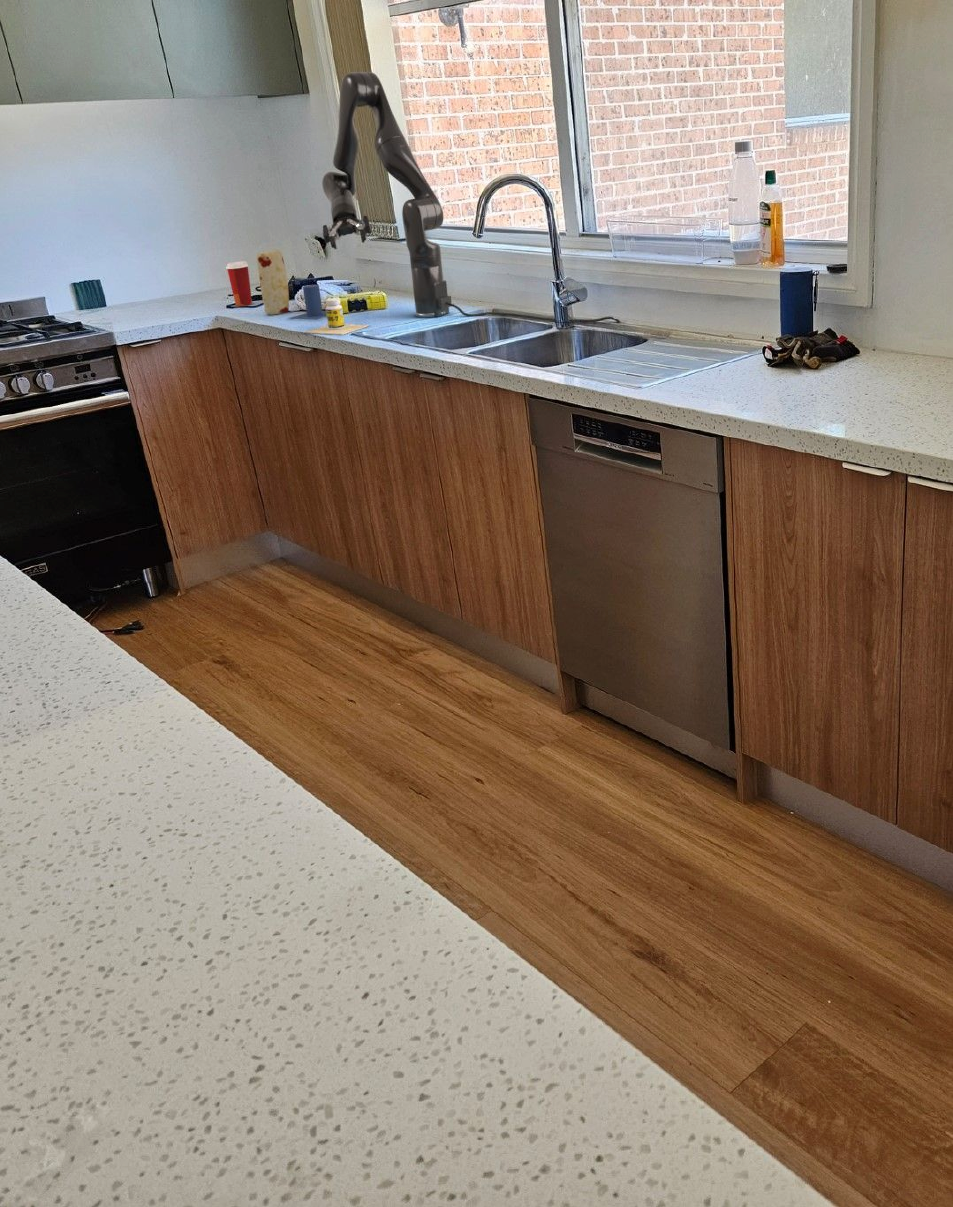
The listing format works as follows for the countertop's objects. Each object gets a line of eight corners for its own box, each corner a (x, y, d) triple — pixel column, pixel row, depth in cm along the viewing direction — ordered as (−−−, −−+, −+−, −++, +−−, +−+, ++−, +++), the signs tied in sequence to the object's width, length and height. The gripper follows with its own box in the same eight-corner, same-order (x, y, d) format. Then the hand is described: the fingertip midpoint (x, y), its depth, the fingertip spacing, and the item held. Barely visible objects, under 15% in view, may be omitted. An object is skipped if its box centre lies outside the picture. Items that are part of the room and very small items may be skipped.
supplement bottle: (326, 330, 314) (321, 301, 311) (332, 327, 318) (328, 298, 315) (341, 330, 313) (337, 300, 309) (347, 326, 317) (343, 297, 313)
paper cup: (258, 301, 376) (251, 260, 370) (250, 306, 369) (243, 264, 363) (237, 303, 377) (229, 262, 371) (229, 307, 371) (221, 265, 365)
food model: (271, 317, 344) (261, 252, 336) (260, 316, 349) (249, 252, 340) (296, 311, 350) (286, 248, 342) (284, 310, 355) (274, 247, 346)
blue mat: (341, 312, 341) (341, 312, 341) (316, 320, 332) (316, 319, 332) (313, 311, 347) (313, 310, 347) (288, 319, 339) (288, 318, 338)
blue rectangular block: (326, 313, 340) (322, 284, 336) (315, 317, 336) (311, 287, 333) (314, 313, 343) (310, 284, 339) (303, 316, 339) (299, 287, 335)
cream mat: (368, 326, 316) (368, 325, 316) (342, 335, 308) (341, 333, 307) (332, 324, 324) (332, 323, 324) (305, 333, 315) (305, 332, 315)
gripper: (318, 207, 325) (322, 237, 315) (363, 197, 325) (369, 226, 315) (324, 229, 331) (328, 259, 321) (369, 219, 331) (375, 248, 321)
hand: (348, 243), depth 318 cm, fingers open, 8 cm apart
